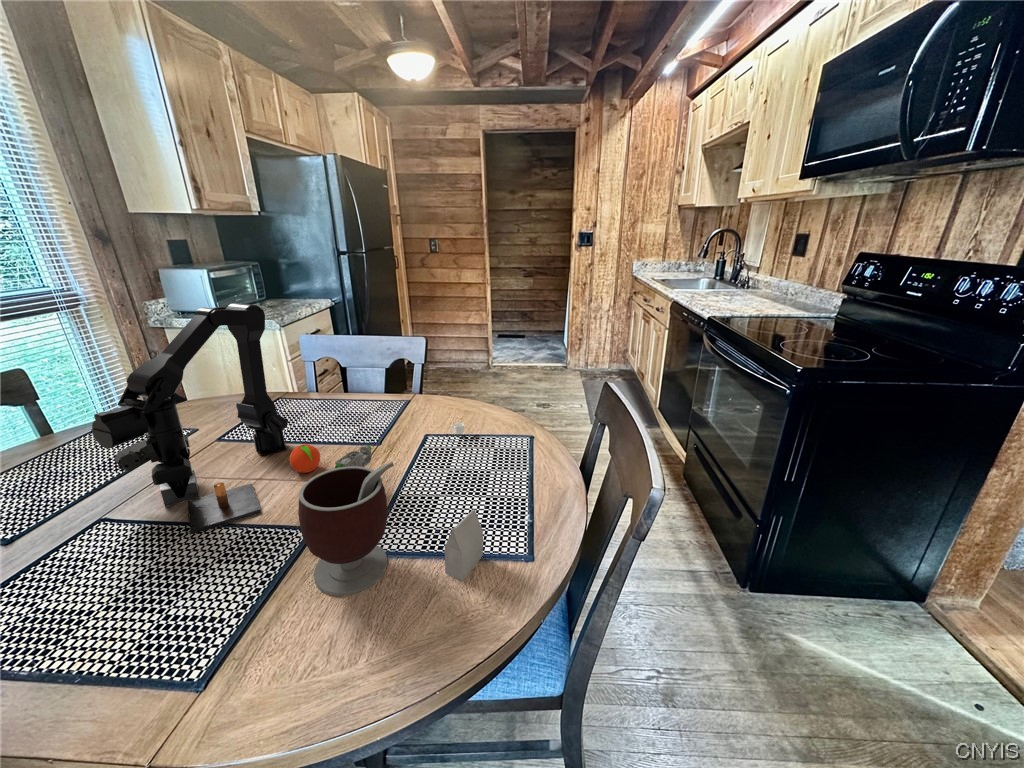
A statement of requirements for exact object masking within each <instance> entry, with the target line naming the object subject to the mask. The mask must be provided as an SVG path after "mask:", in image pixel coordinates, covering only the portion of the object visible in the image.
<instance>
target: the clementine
mask: <svg viewBox="0 0 1024 768" xmlns="http://www.w3.org/2000/svg"><path fill="white" fill-rule="evenodd" d="M320 462H321V454H320V451H319V449H317V447H315V446H313V445H312V444H306V443H305V444H300V445H299V446H297V447H295V448H294V449H293V450H292V452H291V453H290V455H289V464H290V467H291V468H292V469H293V470H294V471H296V472H298V473H303V474H304V473H305V474H306V473H311V472H312V471H313V470H316V468H317V467H318V466H319V464H320Z"/></svg>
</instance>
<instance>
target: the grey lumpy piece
mask: <svg viewBox="0 0 1024 768" xmlns="http://www.w3.org/2000/svg"><path fill="white" fill-rule="evenodd" d="M371 461H372V447H371V446H370V445H369V444H366V445H362V446H361V447H360V448H359V451H358V450H353V451H349V452H347V453H346V454H345V455H344V456H342V457H340V458H339V459H337V460H336V461H335V467H334V469H335V468H340V467H348V466H358V467H365V468H366V466H368V465H369V464H370V463H371Z"/></svg>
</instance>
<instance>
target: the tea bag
mask: <svg viewBox="0 0 1024 768" xmlns="http://www.w3.org/2000/svg"><path fill="white" fill-rule="evenodd" d="M482 556H483V557H484V529H483V528H482V524H481V523H480V521H479V517H478V515H477V513H476V509H472V510H471V511H470V512H469V513H468V514H466V516H465V517H464V518H462V519H461V520H460V521H459V522H458V523H457V524H456V525H455V526H454V527H453V528H452V529H451V532H450V535H449V538H448V539H447V541H446V542H445V544H444V568H445V569H444V571H445V573H444V574H446V575H449V576H451V577H452V578H454V579H457V580H459V581H461V582H463V581H464V580H465V579H466V578H467V577H468V575H469V574H470V573H471V572H472V571H473V569H474V568H475V567H476V566H477V565H478V563H479V562H480V561H481V560H482V559H481V557H482ZM483 557H482V558H483ZM480 559H481V560H480ZM479 560H480V561H479ZM476 564H477V565H476Z"/></svg>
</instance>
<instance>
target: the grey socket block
mask: <svg viewBox="0 0 1024 768" xmlns="http://www.w3.org/2000/svg"><path fill="white" fill-rule="evenodd" d="M213 488H214V493H212V494H207V495H205V496H199V498H196V499H192V500H188V501H187V509H188V521H189V522H188V523H189V532H190V533H189V534H190V535H191V534H193V535H196V534H195V533H197V534H199V533H198V532H200V533H202V531H203V532H205V531H209V530H212V529H215V528H218V527H221V526H225V525H228V524H231V523H234V522H237V521H241V520H243V519H247V518H250V517H254V516H257V515H259V514H262V511H261V506H260V504H259V501H258V497H257V494H256V492H255V488H254V486H253V483H252V482H251V483H248V484H244V485H241V486H237V487H234V488H231V489H230V488H229V489H226V485H225V482H217V483H215V484H214V485H213Z"/></svg>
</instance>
